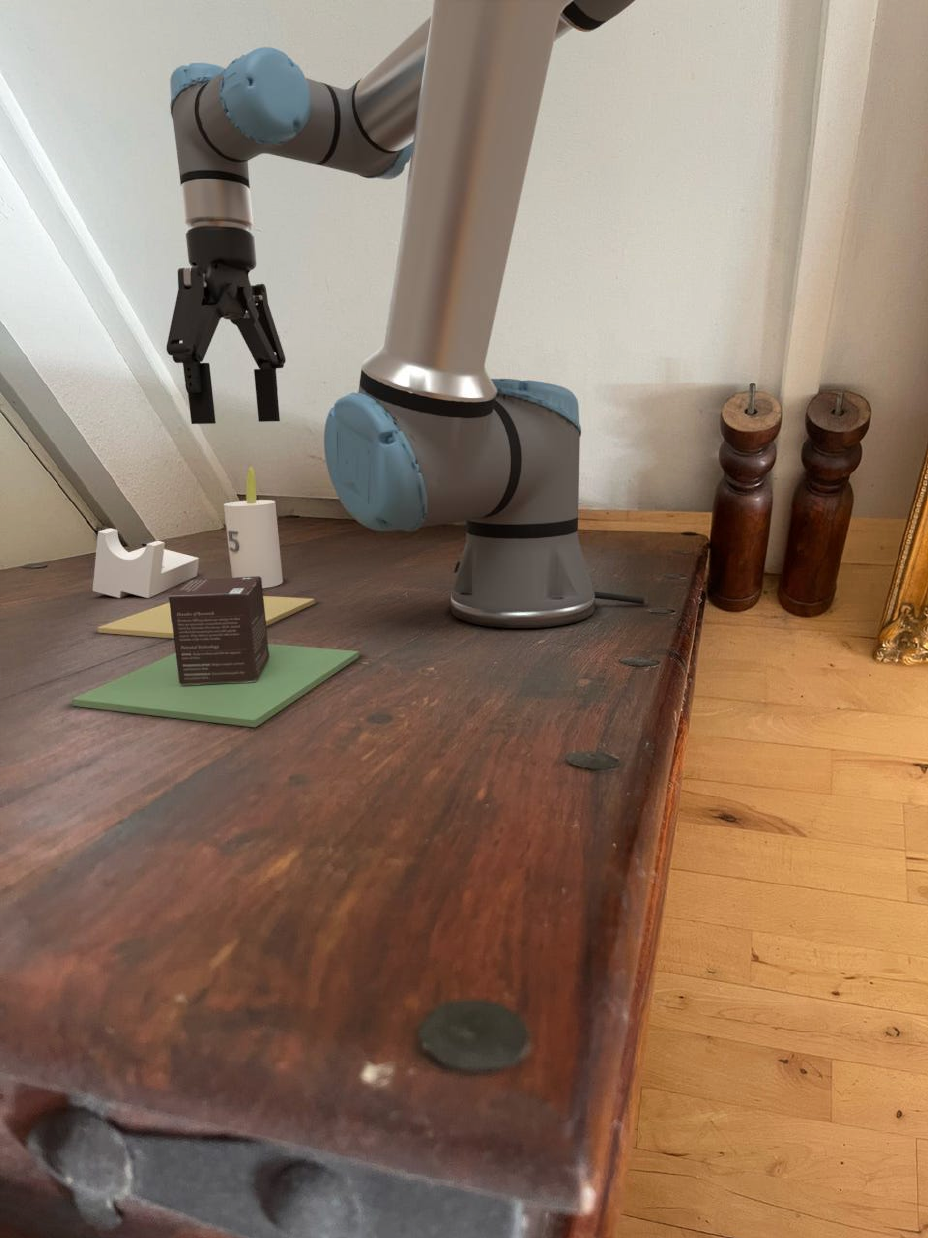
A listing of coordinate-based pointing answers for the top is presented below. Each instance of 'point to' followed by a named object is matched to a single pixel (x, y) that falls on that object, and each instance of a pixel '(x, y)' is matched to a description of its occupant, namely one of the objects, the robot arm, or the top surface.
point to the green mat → (220, 688)
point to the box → (219, 630)
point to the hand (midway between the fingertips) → (238, 422)
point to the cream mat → (160, 620)
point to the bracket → (138, 567)
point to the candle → (254, 537)
